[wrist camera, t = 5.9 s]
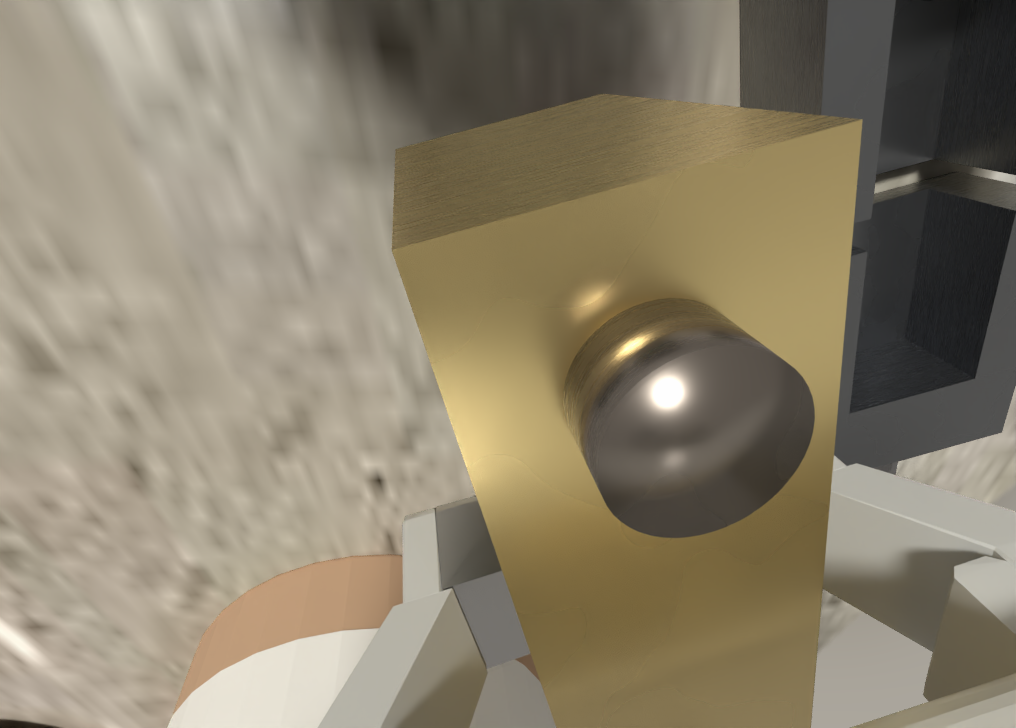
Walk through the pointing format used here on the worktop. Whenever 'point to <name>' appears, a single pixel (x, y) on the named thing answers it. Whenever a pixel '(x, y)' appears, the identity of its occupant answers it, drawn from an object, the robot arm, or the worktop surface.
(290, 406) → the worktop surface
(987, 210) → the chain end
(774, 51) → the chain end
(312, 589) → the bowl
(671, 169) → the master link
